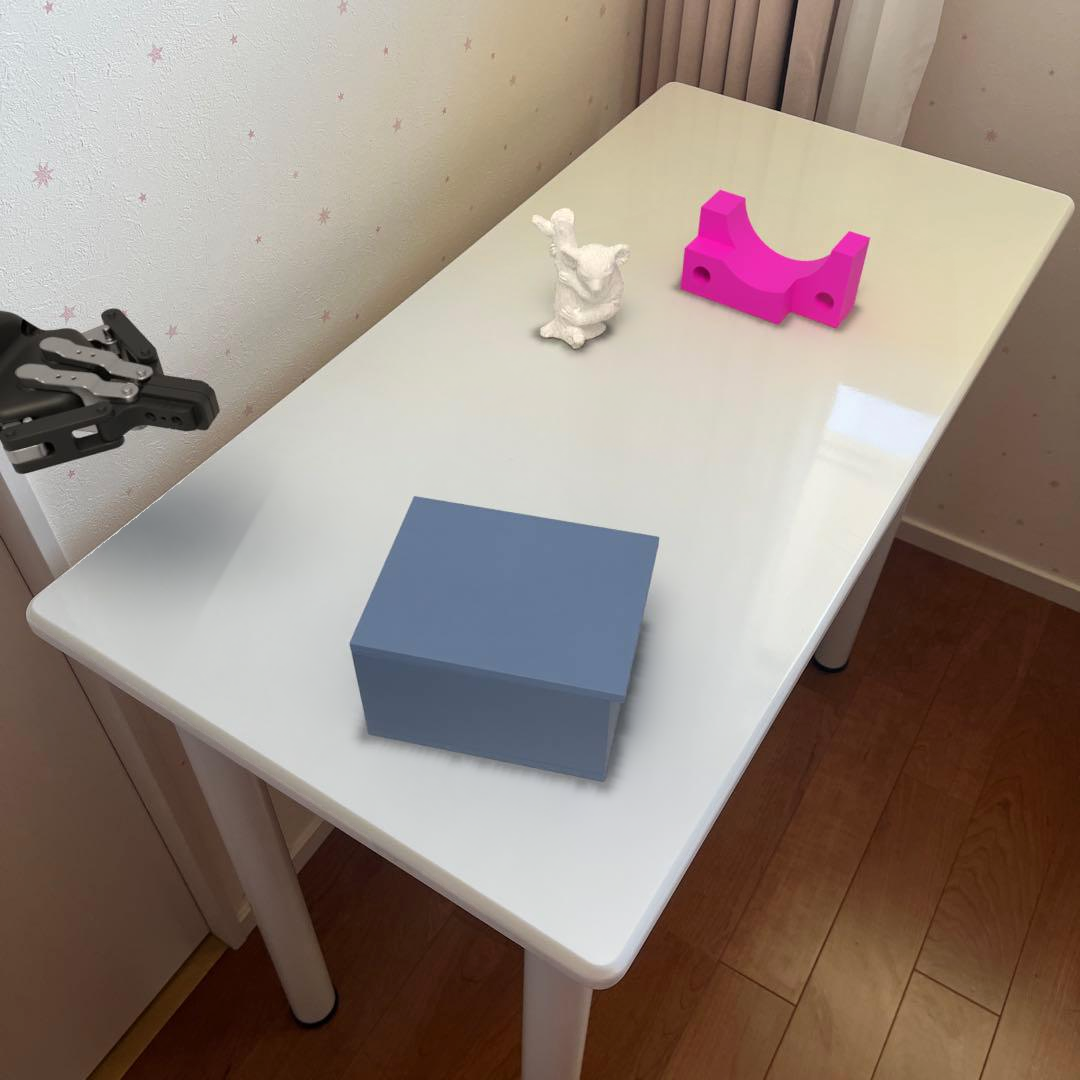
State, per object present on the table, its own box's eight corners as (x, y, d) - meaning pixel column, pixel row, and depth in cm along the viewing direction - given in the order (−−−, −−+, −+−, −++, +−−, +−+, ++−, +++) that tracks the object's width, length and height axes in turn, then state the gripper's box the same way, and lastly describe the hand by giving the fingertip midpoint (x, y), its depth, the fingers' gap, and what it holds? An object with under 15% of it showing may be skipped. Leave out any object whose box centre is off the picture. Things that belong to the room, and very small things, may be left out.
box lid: (658, 544, 71) (659, 536, 70) (624, 703, 63) (625, 695, 62) (414, 503, 74) (413, 495, 73) (350, 651, 65) (348, 643, 65)
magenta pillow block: (680, 288, 106) (687, 218, 100) (711, 258, 109) (720, 189, 104) (825, 341, 100) (841, 270, 94) (853, 308, 103) (870, 237, 98)
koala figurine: (522, 345, 100) (520, 227, 91) (546, 304, 104) (546, 187, 95) (611, 364, 98) (618, 245, 89) (632, 321, 102) (641, 204, 93)
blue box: (637, 628, 78) (646, 542, 71) (604, 782, 69) (610, 701, 63) (425, 590, 80) (415, 504, 74) (368, 734, 72) (350, 652, 65)
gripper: (22, 351, 72) (270, 388, 69) (-104, 488, 63) (175, 538, 60) (-22, 250, 67) (246, 286, 64) (-165, 385, 58) (138, 434, 55)
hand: (211, 408), depth 62 cm, fingers closed
